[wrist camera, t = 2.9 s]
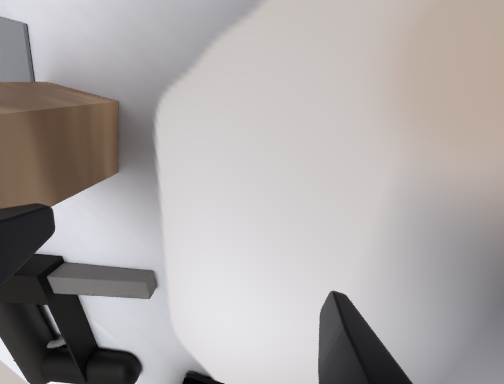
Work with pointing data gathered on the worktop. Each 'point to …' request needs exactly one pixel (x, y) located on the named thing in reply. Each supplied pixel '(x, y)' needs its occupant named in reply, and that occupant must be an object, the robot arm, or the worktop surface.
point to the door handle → (66, 320)
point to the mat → (14, 52)
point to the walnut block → (53, 142)
